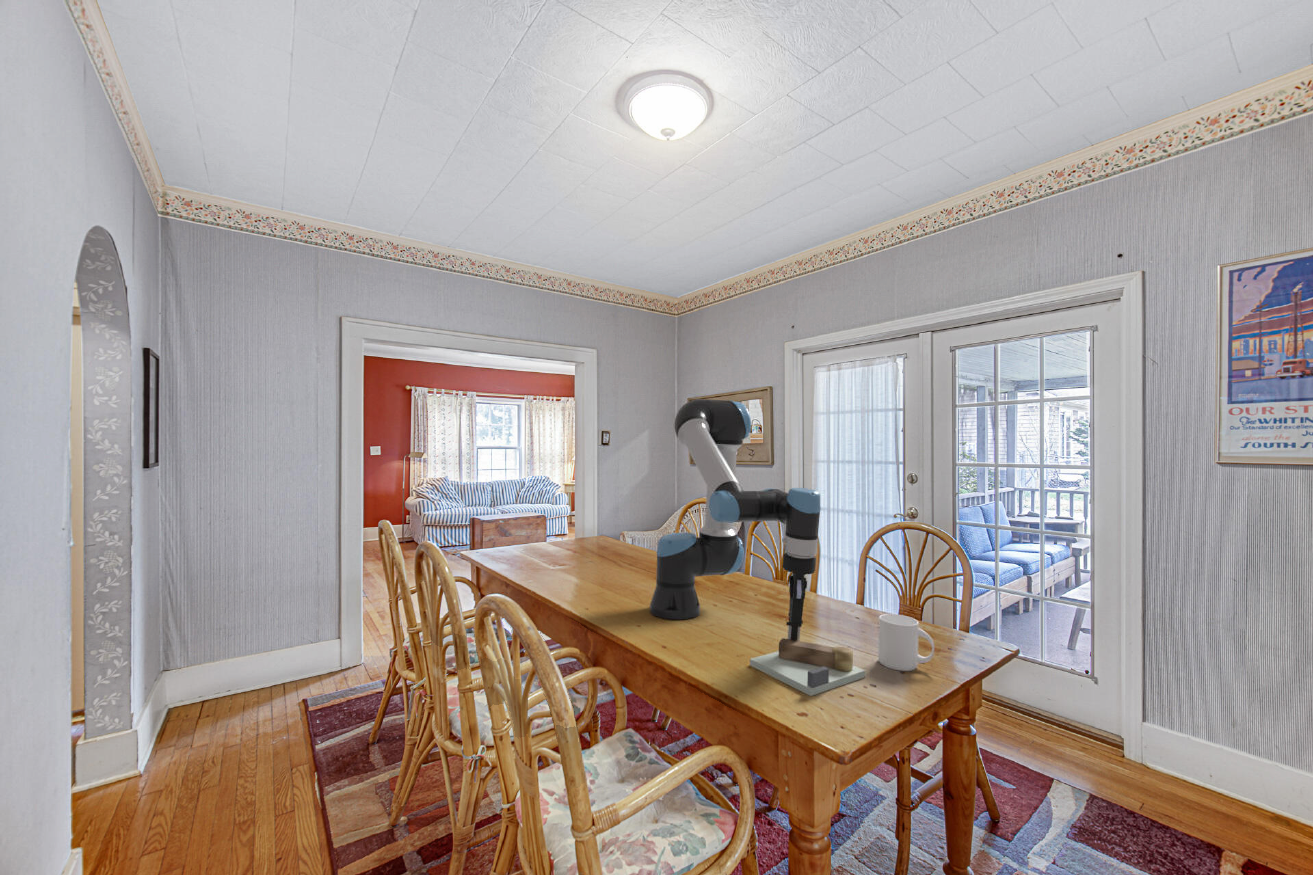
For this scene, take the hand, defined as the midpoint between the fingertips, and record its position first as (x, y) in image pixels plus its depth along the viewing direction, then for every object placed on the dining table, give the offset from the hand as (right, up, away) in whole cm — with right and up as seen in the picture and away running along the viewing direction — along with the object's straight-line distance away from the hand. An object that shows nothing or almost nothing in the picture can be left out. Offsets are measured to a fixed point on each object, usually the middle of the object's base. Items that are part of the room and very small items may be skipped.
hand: (792, 650), depth 132 cm
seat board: (+2, -2, -6) cm, 7 cm away
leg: (+4, -1, -5) cm, 7 cm away
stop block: (+1, -1, -16) cm, 17 cm away
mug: (+26, -3, -2) cm, 27 cm away
